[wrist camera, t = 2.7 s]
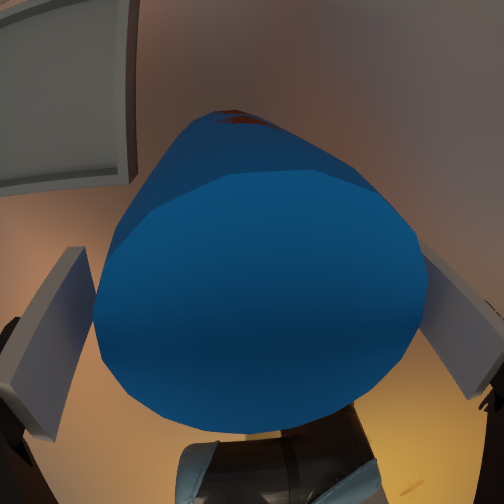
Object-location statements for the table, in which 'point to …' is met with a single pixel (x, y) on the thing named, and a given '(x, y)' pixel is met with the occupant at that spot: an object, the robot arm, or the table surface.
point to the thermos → (256, 282)
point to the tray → (67, 95)
